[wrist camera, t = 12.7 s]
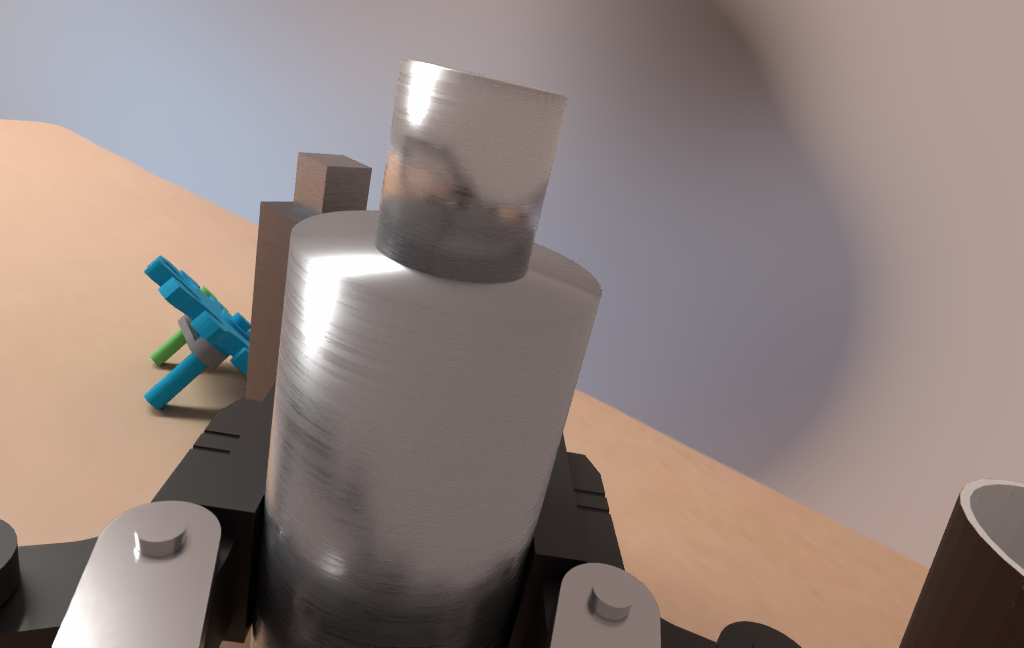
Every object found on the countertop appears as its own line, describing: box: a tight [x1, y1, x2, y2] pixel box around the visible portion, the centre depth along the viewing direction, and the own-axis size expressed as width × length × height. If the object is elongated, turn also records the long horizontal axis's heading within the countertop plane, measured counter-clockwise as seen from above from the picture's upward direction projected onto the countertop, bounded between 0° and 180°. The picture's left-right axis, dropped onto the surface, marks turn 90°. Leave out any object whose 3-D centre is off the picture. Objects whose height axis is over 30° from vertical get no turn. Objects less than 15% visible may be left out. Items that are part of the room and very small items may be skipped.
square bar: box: [245, 152, 372, 402], centre depth 26 cm, size 3×3×15 cm
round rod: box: [250, 58, 602, 648], centre depth 10 cm, size 4×4×15 cm
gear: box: [144, 255, 251, 409], centre depth 33 cm, size 11×6×10 cm
